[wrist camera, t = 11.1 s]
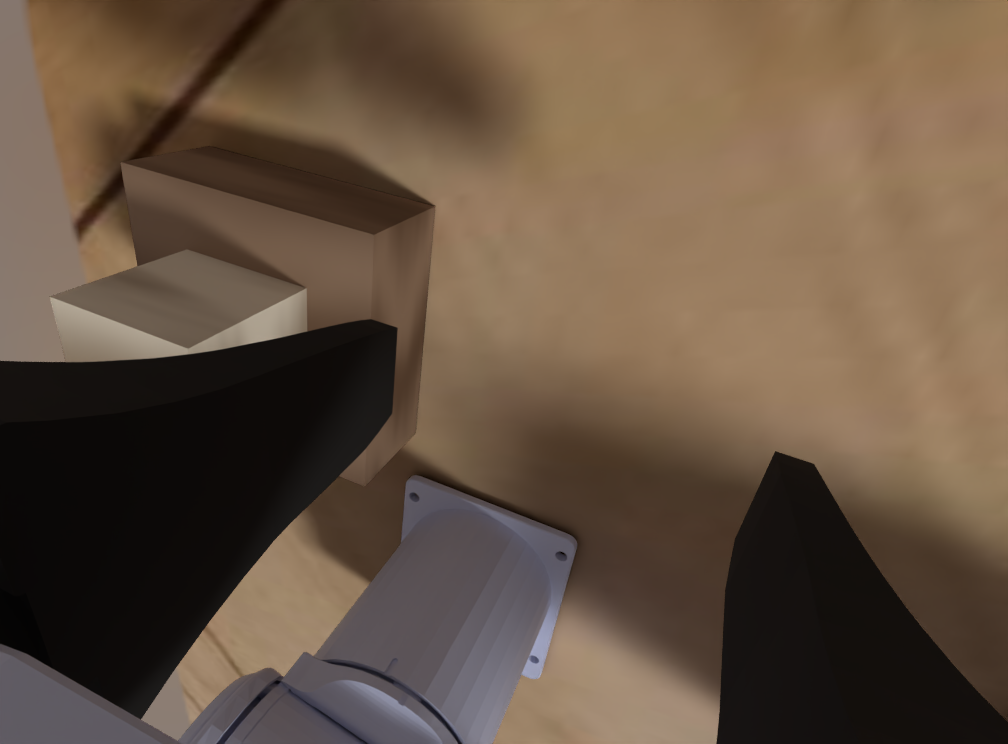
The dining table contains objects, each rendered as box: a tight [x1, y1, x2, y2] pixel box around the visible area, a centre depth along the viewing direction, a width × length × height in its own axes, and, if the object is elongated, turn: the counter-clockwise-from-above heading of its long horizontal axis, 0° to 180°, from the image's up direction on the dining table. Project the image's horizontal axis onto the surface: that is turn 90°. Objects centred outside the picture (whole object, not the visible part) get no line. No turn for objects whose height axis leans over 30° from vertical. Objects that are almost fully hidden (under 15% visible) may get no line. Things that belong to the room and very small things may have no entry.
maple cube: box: [50, 249, 307, 362], centre depth 21 cm, size 5×5×5 cm
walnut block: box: [120, 146, 435, 487], centre depth 24 cm, size 10×10×4 cm
